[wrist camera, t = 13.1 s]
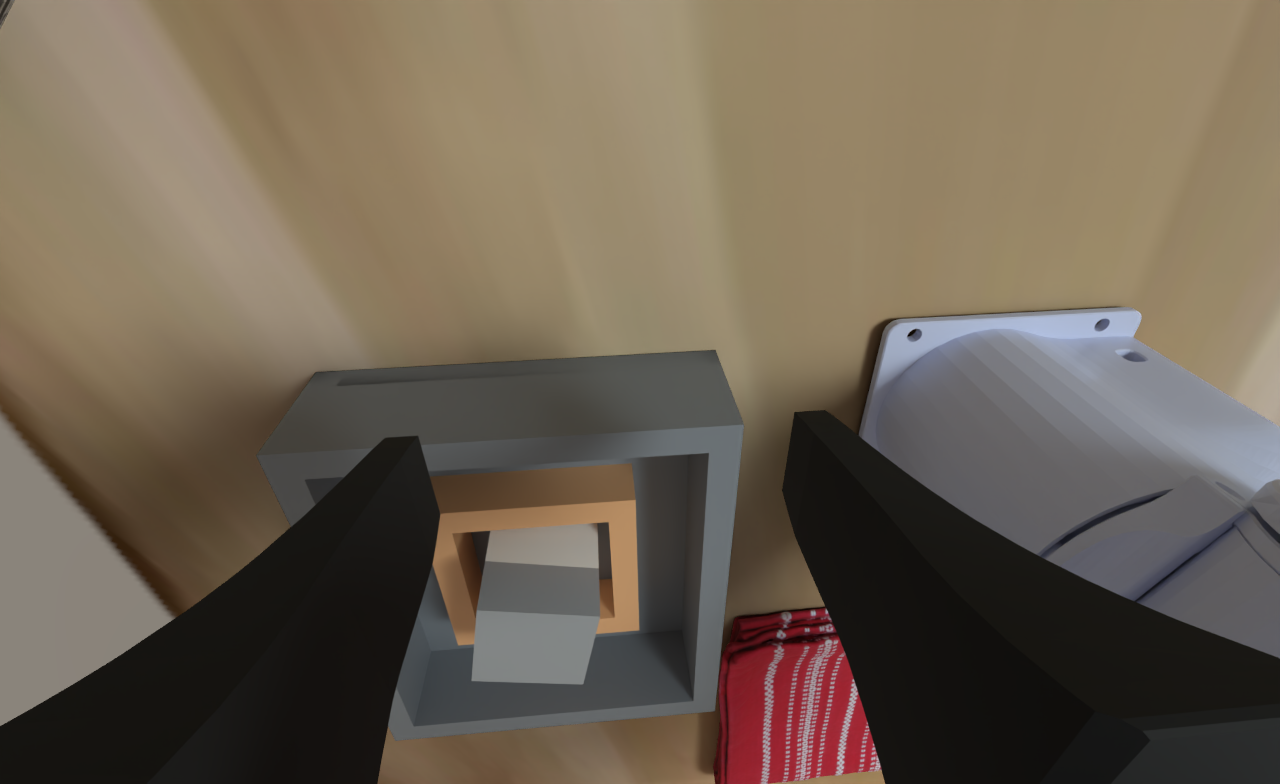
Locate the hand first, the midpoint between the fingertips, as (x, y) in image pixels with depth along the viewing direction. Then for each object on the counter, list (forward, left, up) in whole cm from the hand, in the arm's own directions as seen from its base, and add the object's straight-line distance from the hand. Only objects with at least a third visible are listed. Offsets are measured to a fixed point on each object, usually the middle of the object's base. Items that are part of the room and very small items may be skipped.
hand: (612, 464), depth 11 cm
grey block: (+3, +11, -8) cm, 14 cm away
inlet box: (+3, +11, -9) cm, 15 cm away
